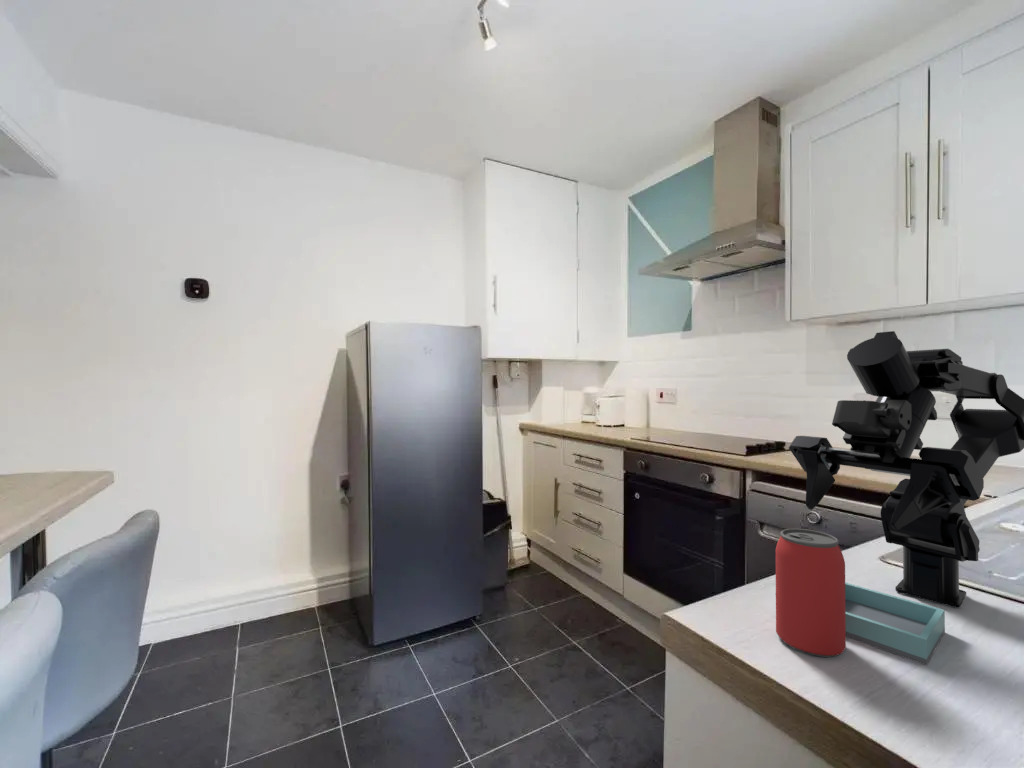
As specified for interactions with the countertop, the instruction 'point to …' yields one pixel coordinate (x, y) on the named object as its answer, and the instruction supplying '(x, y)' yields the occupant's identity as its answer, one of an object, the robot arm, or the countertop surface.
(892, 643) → the tray
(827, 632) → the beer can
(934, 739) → the countertop surface
